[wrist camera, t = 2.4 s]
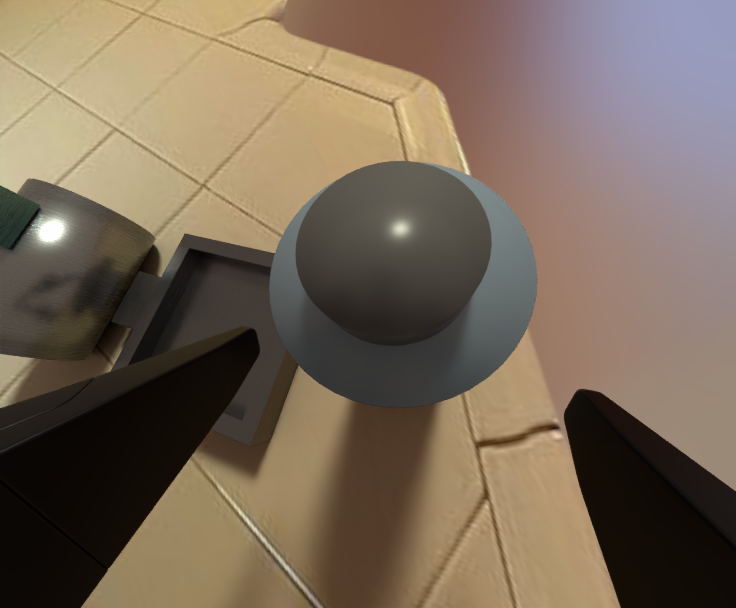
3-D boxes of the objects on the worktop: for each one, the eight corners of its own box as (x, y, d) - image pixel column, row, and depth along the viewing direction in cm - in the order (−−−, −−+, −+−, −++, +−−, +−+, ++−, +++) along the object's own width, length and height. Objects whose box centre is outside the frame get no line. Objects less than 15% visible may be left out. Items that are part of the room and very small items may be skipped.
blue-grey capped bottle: (437, 403, 15) (546, 479, 3) (356, 377, 16) (186, 350, 4) (455, 322, 16) (587, 128, 4) (379, 303, 17) (301, 108, 5)
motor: (271, 438, 16) (131, 490, 8) (47, 344, 21) (-176, 319, 13) (329, 277, 19) (268, 196, 11) (119, 227, 24) (-30, 147, 16)
